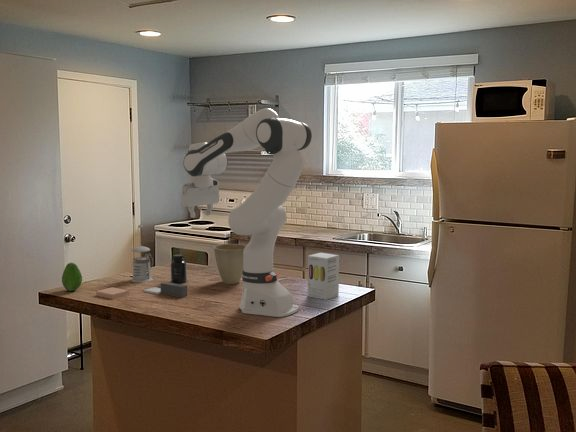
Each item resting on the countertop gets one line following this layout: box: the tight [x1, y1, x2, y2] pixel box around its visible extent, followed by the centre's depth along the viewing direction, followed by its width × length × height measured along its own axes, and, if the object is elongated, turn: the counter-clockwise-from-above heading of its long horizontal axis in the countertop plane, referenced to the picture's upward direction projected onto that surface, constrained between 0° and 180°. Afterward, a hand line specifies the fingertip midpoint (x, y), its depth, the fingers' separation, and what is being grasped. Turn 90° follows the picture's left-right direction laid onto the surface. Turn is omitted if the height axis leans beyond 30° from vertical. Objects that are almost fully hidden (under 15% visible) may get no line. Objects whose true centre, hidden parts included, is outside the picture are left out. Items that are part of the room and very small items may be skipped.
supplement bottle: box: [170, 254, 188, 284], centre depth 262 cm, size 7×7×12 cm
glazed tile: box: [95, 287, 130, 300], centre depth 240 cm, size 2×8×10 cm
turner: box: [143, 281, 188, 298], centre depth 243 cm, size 20×6×4 cm, turn 57°
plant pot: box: [213, 243, 247, 285], centre depth 262 cm, size 15×15×16 cm
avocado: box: [61, 262, 83, 292], centre depth 246 cm, size 8×8×12 cm
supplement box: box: [307, 252, 340, 301], centre depth 238 cm, size 10×9×17 cm
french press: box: [130, 224, 154, 283], centre depth 265 cm, size 10×12×25 cm
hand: (201, 216), depth 242 cm, fingers open, 8 cm apart
